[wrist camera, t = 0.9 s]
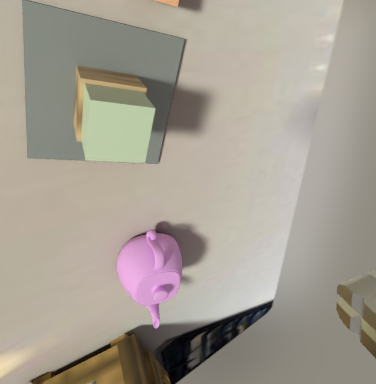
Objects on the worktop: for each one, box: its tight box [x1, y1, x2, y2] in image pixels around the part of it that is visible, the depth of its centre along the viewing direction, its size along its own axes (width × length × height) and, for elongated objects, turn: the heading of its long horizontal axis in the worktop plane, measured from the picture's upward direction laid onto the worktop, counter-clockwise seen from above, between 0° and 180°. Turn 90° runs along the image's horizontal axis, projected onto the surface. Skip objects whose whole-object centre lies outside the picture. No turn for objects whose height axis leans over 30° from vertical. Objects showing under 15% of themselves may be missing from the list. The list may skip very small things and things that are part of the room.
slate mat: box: [22, 0, 185, 164], centre depth 43 cm, size 20×20×1 cm
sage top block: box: [81, 83, 155, 163], centre depth 36 cm, size 7×7×6 cm
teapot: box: [117, 230, 182, 329], centre depth 61 cm, size 20×13×12 cm, turn 173°
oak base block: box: [74, 65, 147, 142], centre depth 41 cm, size 8×8×6 cm
